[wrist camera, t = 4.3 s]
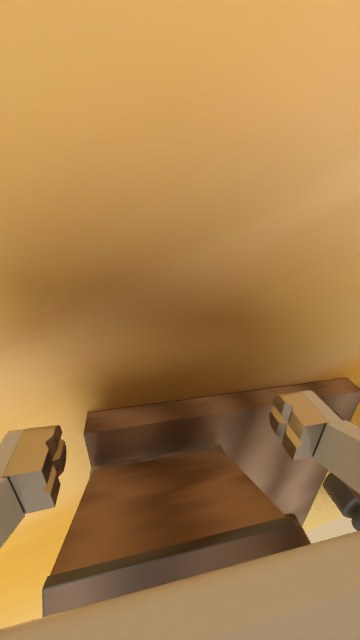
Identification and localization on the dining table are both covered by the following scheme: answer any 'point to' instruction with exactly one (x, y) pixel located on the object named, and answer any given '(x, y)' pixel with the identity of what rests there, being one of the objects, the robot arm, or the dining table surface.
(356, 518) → the candle holder
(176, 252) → the dining table surface
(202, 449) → the hinged leg
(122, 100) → the dining table surface
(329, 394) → the stool
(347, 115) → the dining table surface
